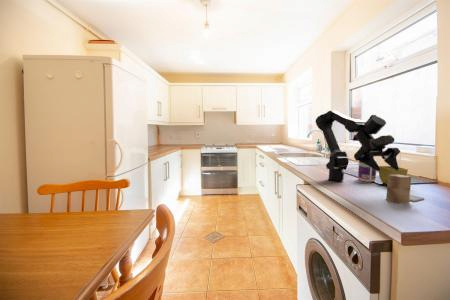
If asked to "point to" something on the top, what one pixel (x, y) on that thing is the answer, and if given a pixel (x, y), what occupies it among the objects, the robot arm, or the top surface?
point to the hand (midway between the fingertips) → (388, 170)
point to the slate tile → (415, 198)
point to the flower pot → (390, 172)
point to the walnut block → (398, 188)
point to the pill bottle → (366, 172)
